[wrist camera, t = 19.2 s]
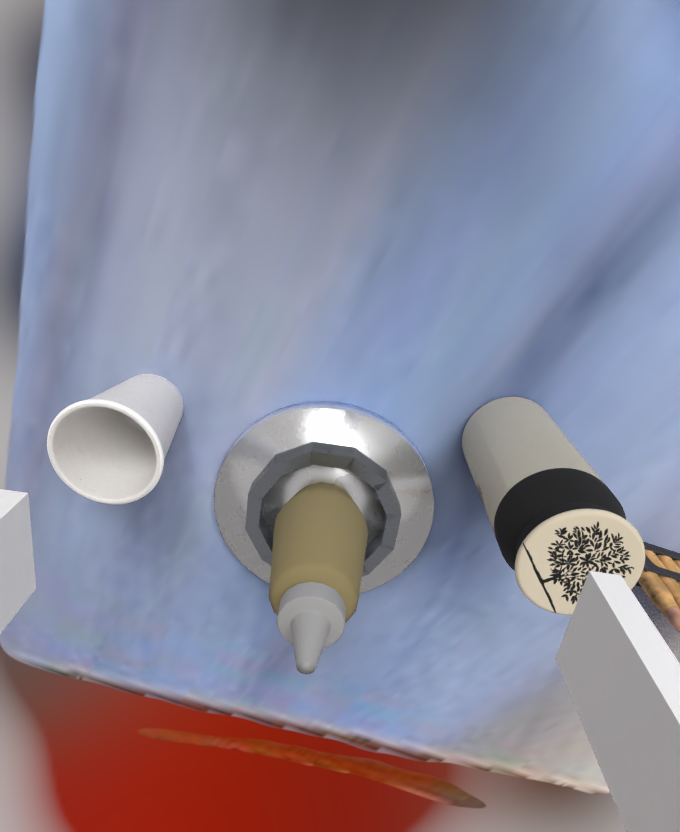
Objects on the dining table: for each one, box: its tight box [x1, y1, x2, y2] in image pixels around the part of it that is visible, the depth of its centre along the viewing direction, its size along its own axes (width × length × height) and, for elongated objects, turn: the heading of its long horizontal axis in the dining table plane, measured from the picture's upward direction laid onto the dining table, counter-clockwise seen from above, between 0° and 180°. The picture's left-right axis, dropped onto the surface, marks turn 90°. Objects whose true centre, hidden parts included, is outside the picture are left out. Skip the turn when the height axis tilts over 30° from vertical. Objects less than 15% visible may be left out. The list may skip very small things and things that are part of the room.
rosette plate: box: [214, 402, 434, 593], centre depth 51 cm, size 20×20×4 cm
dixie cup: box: [47, 374, 184, 504], centre depth 45 cm, size 8×8×10 cm
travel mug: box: [462, 397, 645, 615], centre depth 41 cm, size 8×8×18 cm
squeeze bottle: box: [269, 482, 368, 674], centre depth 43 cm, size 8×8×18 cm
